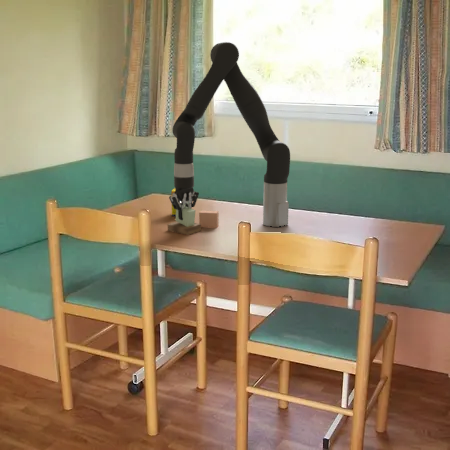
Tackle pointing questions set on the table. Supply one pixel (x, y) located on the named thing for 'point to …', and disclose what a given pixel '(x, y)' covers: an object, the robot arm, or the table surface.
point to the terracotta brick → (209, 219)
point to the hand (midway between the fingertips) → (184, 219)
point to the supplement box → (172, 205)
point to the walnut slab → (183, 228)
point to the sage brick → (186, 216)
